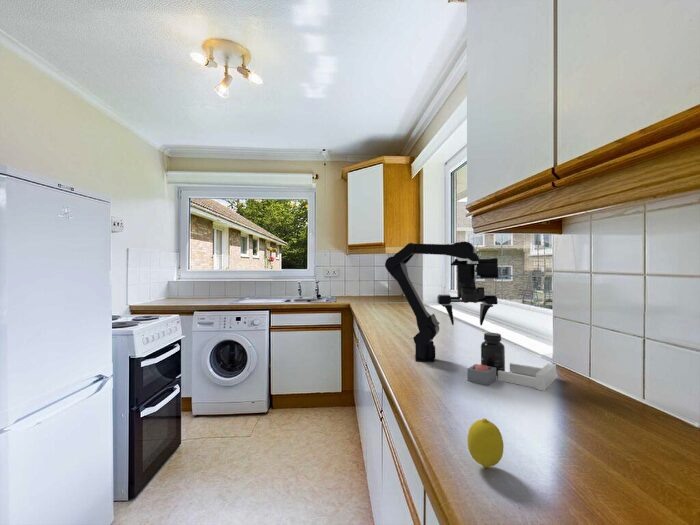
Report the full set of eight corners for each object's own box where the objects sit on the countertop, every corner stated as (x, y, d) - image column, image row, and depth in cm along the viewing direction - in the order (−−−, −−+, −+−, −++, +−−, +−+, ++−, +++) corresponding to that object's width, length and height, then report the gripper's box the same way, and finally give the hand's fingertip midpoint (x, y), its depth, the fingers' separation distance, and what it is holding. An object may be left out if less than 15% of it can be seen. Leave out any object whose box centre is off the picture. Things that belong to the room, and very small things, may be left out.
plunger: (473, 378, 98) (473, 366, 98) (478, 375, 101) (478, 363, 101) (485, 381, 96) (485, 368, 96) (490, 378, 99) (490, 366, 99)
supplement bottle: (476, 371, 107) (475, 333, 107) (492, 368, 110) (491, 331, 110) (493, 377, 100) (493, 337, 101) (510, 374, 103) (509, 334, 103)
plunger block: (467, 380, 98) (467, 368, 98) (475, 375, 103) (475, 363, 103) (488, 385, 94) (488, 372, 94) (496, 379, 99) (496, 367, 99)
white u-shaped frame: (496, 380, 98) (496, 366, 98) (511, 370, 107) (511, 357, 108) (544, 390, 90) (544, 375, 90) (556, 378, 99) (555, 364, 99)
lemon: (494, 457, 59) (493, 411, 59) (510, 477, 54) (509, 426, 54) (462, 458, 59) (462, 412, 59) (475, 478, 53) (474, 427, 53)
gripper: (440, 280, 109) (441, 329, 109) (501, 279, 106) (502, 329, 106) (436, 278, 120) (437, 323, 120) (492, 278, 117) (493, 323, 117)
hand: (466, 325), depth 115 cm, fingers open, 9 cm apart
